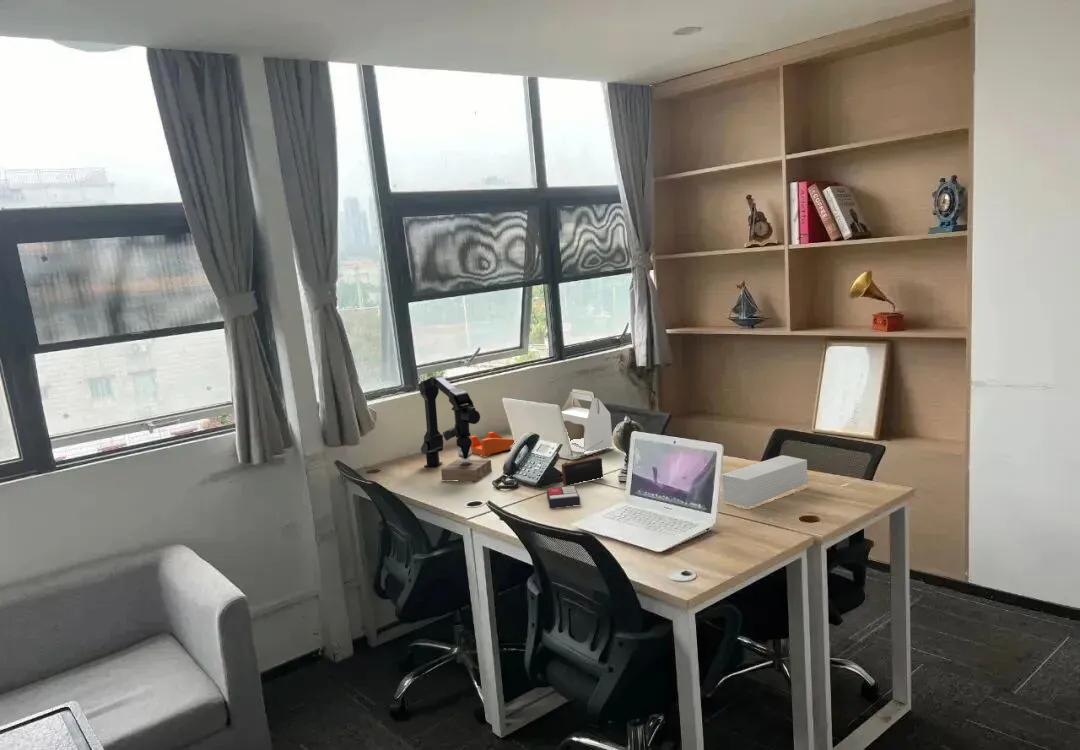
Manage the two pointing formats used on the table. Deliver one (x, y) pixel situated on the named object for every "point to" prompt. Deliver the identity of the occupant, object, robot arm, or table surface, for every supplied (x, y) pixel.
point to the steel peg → (464, 461)
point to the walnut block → (466, 470)
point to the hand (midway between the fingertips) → (465, 457)
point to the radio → (582, 470)
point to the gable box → (587, 421)
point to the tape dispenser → (490, 444)
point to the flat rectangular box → (563, 497)
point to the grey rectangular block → (764, 480)
